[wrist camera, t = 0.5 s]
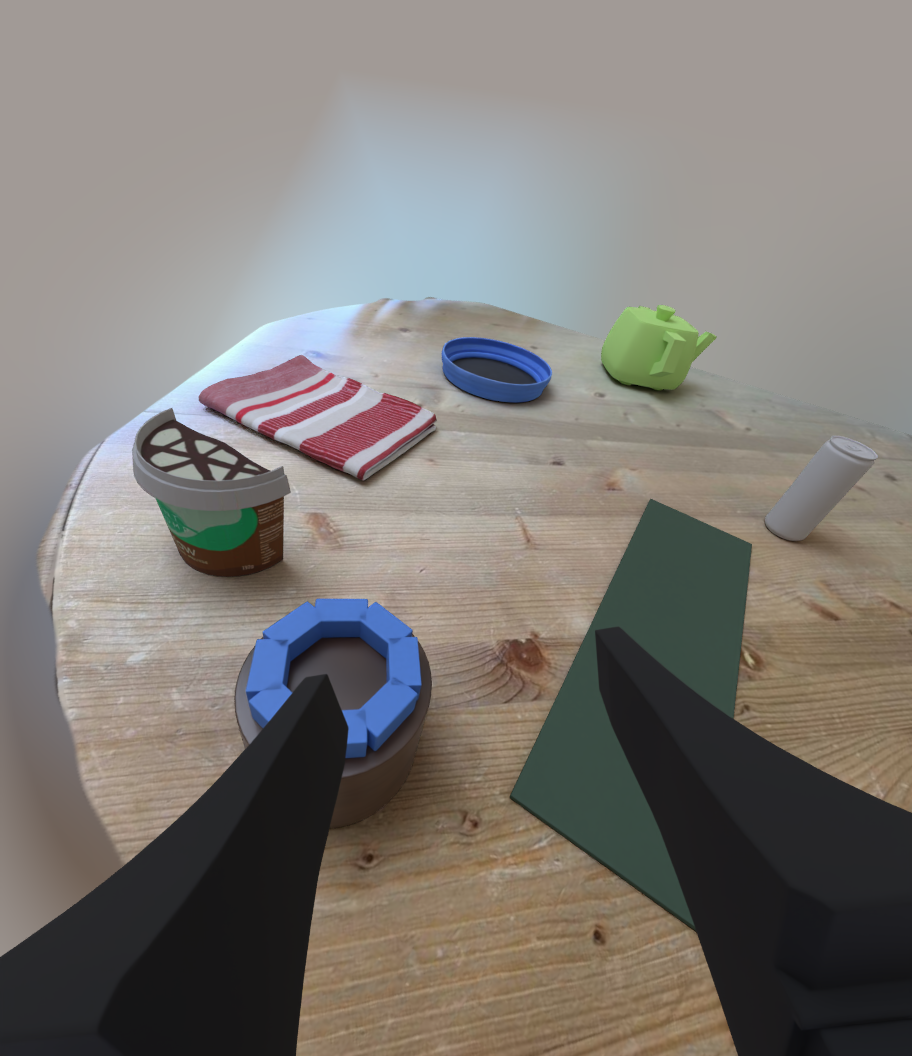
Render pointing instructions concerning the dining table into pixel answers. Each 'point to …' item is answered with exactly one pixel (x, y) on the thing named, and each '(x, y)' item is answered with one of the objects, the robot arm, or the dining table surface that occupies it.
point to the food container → (211, 498)
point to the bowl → (495, 369)
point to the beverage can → (819, 487)
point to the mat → (681, 647)
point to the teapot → (652, 348)
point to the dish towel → (323, 415)
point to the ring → (340, 621)
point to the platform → (354, 684)
